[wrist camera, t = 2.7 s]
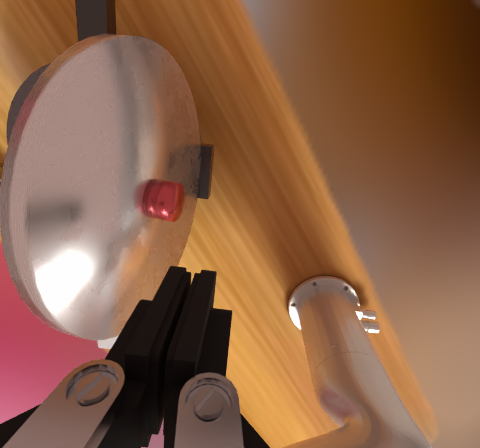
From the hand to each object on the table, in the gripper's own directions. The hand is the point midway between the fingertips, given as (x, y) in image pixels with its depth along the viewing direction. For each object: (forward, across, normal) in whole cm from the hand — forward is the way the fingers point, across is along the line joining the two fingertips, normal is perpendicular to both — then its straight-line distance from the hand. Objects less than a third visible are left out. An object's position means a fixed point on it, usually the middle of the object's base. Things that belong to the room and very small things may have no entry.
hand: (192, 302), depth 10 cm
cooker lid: (+13, +7, +1) cm, 14 cm away
